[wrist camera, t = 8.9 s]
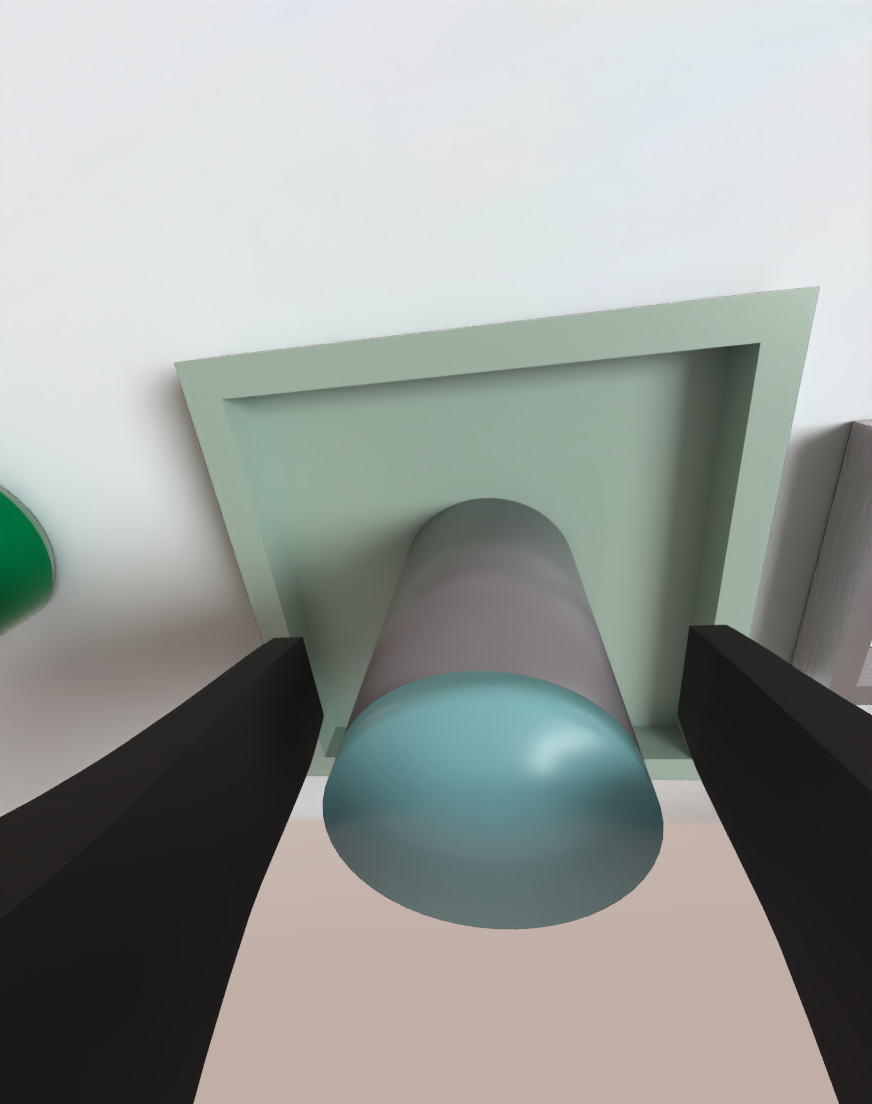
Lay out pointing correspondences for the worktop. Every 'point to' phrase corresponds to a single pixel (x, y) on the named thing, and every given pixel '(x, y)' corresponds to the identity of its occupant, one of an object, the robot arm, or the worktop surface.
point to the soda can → (22, 563)
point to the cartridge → (492, 736)
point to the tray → (514, 475)
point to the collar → (843, 584)
